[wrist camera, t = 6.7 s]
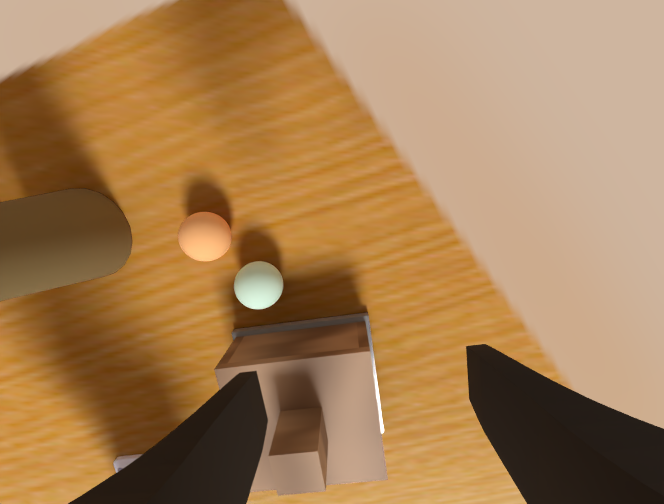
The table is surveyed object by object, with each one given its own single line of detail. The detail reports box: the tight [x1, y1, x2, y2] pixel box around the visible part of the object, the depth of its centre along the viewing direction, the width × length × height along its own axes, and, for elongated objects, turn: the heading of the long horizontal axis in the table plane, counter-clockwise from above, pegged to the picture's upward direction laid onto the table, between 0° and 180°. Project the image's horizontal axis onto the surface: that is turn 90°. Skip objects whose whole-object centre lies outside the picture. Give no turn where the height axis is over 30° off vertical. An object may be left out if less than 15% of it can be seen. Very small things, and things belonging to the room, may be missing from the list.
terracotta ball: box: [178, 212, 232, 261], centre depth 19 cm, size 3×3×3 cm
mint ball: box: [234, 261, 283, 309], centre depth 19 cm, size 3×3×3 cm
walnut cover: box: [214, 321, 388, 495], centre depth 19 cm, size 9×9×7 cm
